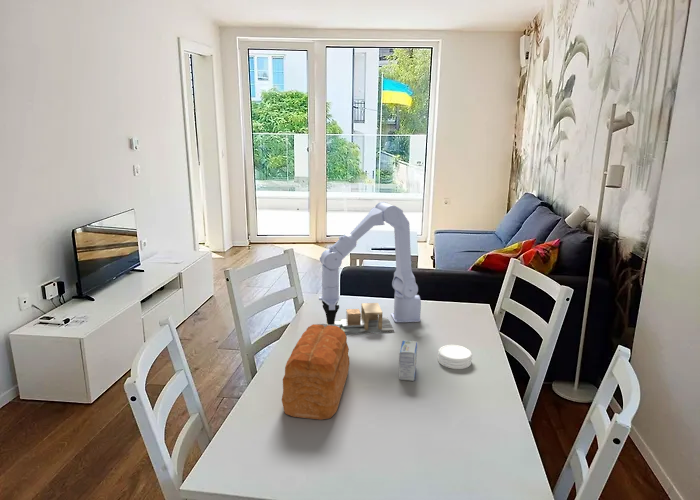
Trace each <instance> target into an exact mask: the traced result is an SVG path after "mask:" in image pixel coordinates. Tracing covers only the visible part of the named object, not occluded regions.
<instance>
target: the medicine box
mask: <svg viewBox="0 0 700 500" xmlns="http://www.w3.org/2000/svg"><path fill="white" fill-rule="evenodd" d="M417 351H418V342H417V341H416V340H415V341H414V340H405V339H403V340H402V341H401V346H400V349H399V353H398V355H399V356H398V380H402V381H411V382H412V381H413V382H414V381H415V377H416V370H417V356H418V355H417V353H418V352H417Z"/></svg>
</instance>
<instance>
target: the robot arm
mask: <svg viewBox="0 0 700 500" xmlns="http://www.w3.org/2000/svg"><path fill="white" fill-rule="evenodd" d="M385 223H387V224H388V225H390V226H391V227H393V230H394V233H393V234H394V249H395V251H394V252H395V253H394V254H395V267H396V269H395V271H394V272H393V279H392V282H391V287H392V288H393V289H394V296H393V297H394V298H393V299H394V303H393V304H394V305H393V312H391V313H390V315H391V317H392V319H393V321H394V323H417V322H422V321H421V320H422V319H421V308H422V303H421V300H422V299H421V296H420V295H419V294H418V292H419V286H418V284H417V283H416V277H415V275H414V273H413V271H412V257H411V256H412V254H411V253H412V252H411V233H410V232H411V231H410V230H411V229H410V222H409V220H408V218H407V217H406V215H405V214H404V211H403V209H402V208H400V207H398V206H396V205H392V204H390V203H388V202H386V201H379V202H378V203H377V204H376V205H375V206H374V207H372V208H371V209H370V211H369V212H368V213H367V215H365V216H364V218H363V219H362V220H361V221H360V222H359V223H358V225H356V227H355V228H353V230H351V232H350V233H345V234H343V235H339V237H338V239H337V241H336V242H335V243H334V244H333V245H332V246H329V247H328V249H327V250H326V249H325V250H324V251H323V252H322V253H321V254H320V257H319V261H320V263H321V264H322V265H321V267H322V268H321V269H322V272H321V296H318V300H319V301H321V304H322V308H323V310H324V312H325V317H326V324H327V323H328V324H334V322H335V320H336V317H337V313H338V311H339V309H340V305H339V304H338V303H339V301H340V296H339V295H340V288H339V287H340V285H339V283H340V282H339V281H340V271H339V269H340V267H341V265H342V264H343V263H342V262H343V260H344V259H345V258H346V256H348V255H349V254H350V253H351V252H352V251H353V250H354V249H355V248H356V247H357V243H358V242H357V241H358V240H360V239H361V238H362V237H363V236H364V235H365V234H367V233H368V232H369V231H370V230H371V229H372V228H374V227H375V226H385Z"/></svg>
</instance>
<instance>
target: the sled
mask: <svg viewBox="0 0 700 500" xmlns="http://www.w3.org/2000/svg"><path fill="white" fill-rule="evenodd" d="M345 311H346V312H345V314H346V315H345V318H340V319H341V321H339V320H336V321H335V322H334V324H328V323H327V322H326V324H328V325H331V326H338V327H340V326H343V327H364V324H365V321H364V319H361V310H360V309H359V308H355V309H354V308H351V309H350V308H349V309H346V310H345Z"/></svg>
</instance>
